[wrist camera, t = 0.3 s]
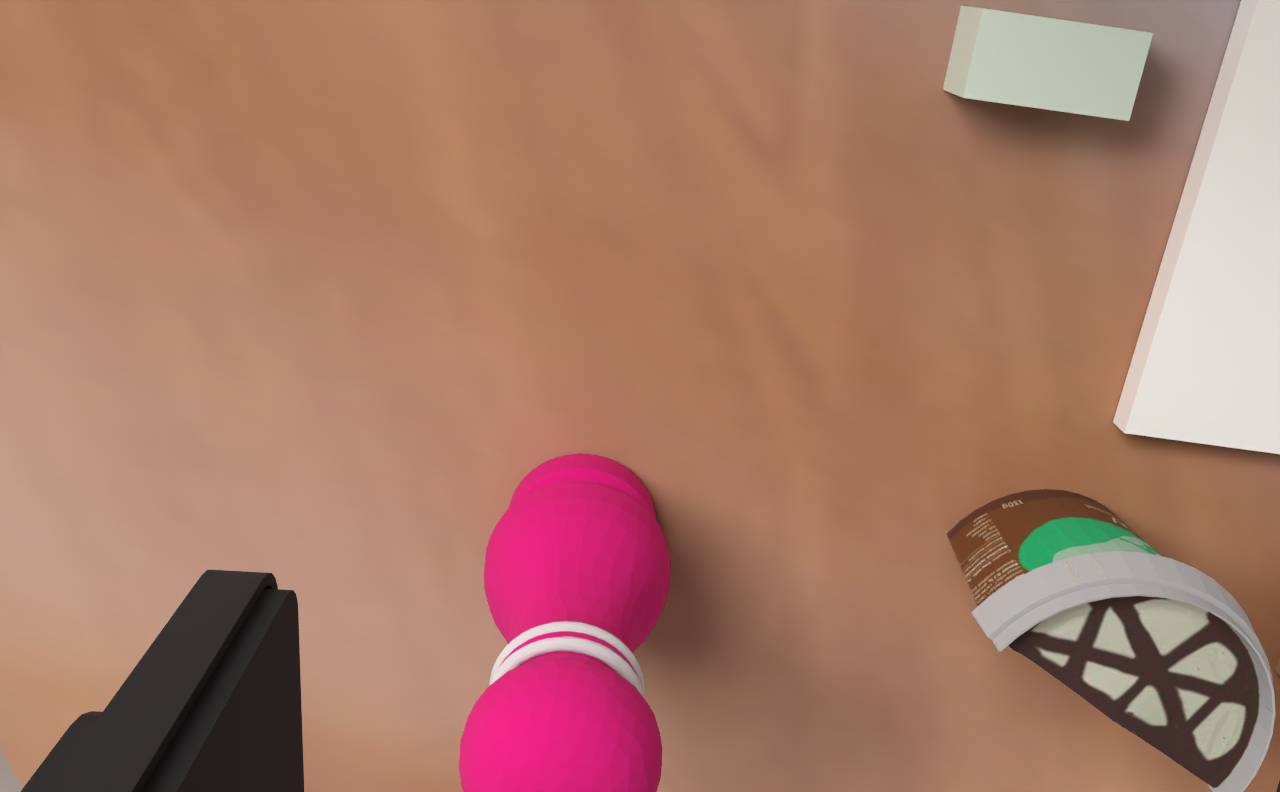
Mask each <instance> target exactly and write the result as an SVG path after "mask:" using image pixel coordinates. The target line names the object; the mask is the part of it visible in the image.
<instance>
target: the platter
mask: <svg viewBox="0 0 1280 792" xmlns="http://www.w3.org/2000/svg"><path fill="white" fill-rule="evenodd" d="M1113 423H1114V424H1115V425H1116V426H1117V427H1118V428H1119V429H1121V430H1122V431H1123V432H1124V433H1127V434H1134V435H1142V436H1149V437H1156V438H1164V439H1171V440H1179V441H1186V442H1193V443H1201V444H1208V445H1215V446H1223V447H1230V448H1238V449H1245V450H1252V451H1260V452H1267V453H1274V454H1280V0H1241V3H1240V6H1239V9H1238V12H1237V16H1236V19H1235V22H1234V26H1233V29H1232V32H1231V35H1230V39H1229V42H1228V45H1227V49H1226V52H1225V55H1224V58H1223V62H1222V65H1221V68H1220V72H1219V75H1218V78H1217V82H1216V85H1215V88H1214V91H1213V95H1212V98H1211V101H1210V105H1209V108H1208V111H1207V114H1206V118H1205V121H1204V124H1203V128H1202V131H1201V134H1200V137H1199V141H1198V144H1197V147H1196V151H1195V154H1194V157H1193V160H1192V164H1191V167H1190V170H1189V174H1188V177H1187V180H1186V183H1185V187H1184V190H1183V193H1182V197H1181V200H1180V203H1179V206H1178V210H1177V213H1176V216H1175V220H1174V223H1173V226H1172V230H1171V233H1170V236H1169V239H1168V243H1167V246H1166V249H1165V253H1164V256H1163V259H1162V262H1161V266H1160V269H1159V272H1158V276H1157V279H1156V282H1155V285H1154V289H1153V292H1152V295H1151V299H1150V302H1149V305H1148V308H1147V312H1146V315H1145V318H1144V322H1143V325H1142V328H1141V331H1140V335H1139V338H1138V341H1137V345H1136V348H1135V351H1134V355H1133V358H1132V361H1131V364H1130V368H1129V371H1128V374H1127V378H1126V381H1125V384H1124V387H1123V391H1122V394H1121V397H1120V401H1119V404H1118V407H1117V410H1116V414H1115V417H1114V420H1113Z"/></svg>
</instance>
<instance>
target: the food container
mask: <svg viewBox="0 0 1280 792" xmlns="http://www.w3.org/2000/svg"><path fill="white" fill-rule="evenodd" d="M947 536H948V539H949V541H950V543H951V545H952V548H953V550H954V552H955V555H956V557H957V559H958V562H959V564H960V566H961V568H962V571H963V573H964V575H965V578H966V580H967V582H968V585H969V587H970V589H971V591H972V594H973V596H974V598H975V601H976V603H977V605H978V607H977V608H976V609H975V610H973V611H972V612H971V613H972V614H973V616H974V617H975V619H976V620H977V622H978V623H979V625H980V626H981V628H982V629H983V631H984V632H985V634H986V635H987V637H988V638H990V639H991V640H993V642H994V644H995V646H996V647H997V649H998V651H999V652H1001V651H1002V650H1004V649H1005V648H1006V647H1007V646H1008V645H1009V646H1010V647H1011V648H1012V649H1013V650H1015V651H1017V652H1019V653H1021V654H1023V655H1024V656H1026V657H1027V658H1029V659H1030V660H1032V661H1033V662H1035V663H1036V664H1037V665H1039V666H1040V667H1042V668H1043V669H1044V670H1046V671H1047V672H1049V673H1050V674H1051V675H1053V676H1054V677H1055V678H1057V679H1058V680H1060V681H1061V682H1062V683H1064V684H1065V685H1066V686H1068V687H1069V688H1071V689H1072V690H1073V691H1075V692H1076V693H1077V694H1079V695H1080V696H1081V697H1083V698H1084V699H1085V700H1087V701H1088V702H1089V703H1091V704H1092V705H1093V706H1095V707H1096V708H1097V709H1099V710H1100V711H1101V712H1102V713H1104V714H1105V715H1106V716H1108V717H1109V718H1110V719H1112V720H1113V721H1114V722H1116V723H1118V724H1119V725H1121V726H1122V727H1124V728H1126V729H1127V730H1129V731H1130V732H1132V733H1134V734H1135V735H1137V736H1138V737H1140V738H1142V739H1143V740H1145V741H1146V742H1148V743H1149V744H1151V745H1152V746H1154V747H1155V748H1157V749H1158V750H1160V751H1161V752H1163V753H1164V754H1165V755H1167V756H1168V757H1170V758H1171V759H1173V760H1174V761H1176V762H1177V763H1178V764H1180V765H1181V766H1183V767H1184V768H1186V769H1187V770H1188V771H1190V772H1191V773H1193V774H1194V775H1196V776H1197V777H1199V778H1200V779H1201V780H1203V781H1204V782H1205V783H1206V784H1207V785H1208V787H1209V788H1210V789H1211V790H1212V792H1244V790H1245V789H1246V788H1247V786H1248V785H1249V783H1250V782H1251V781H1252V779H1253V778H1254V777H1255V775H1256V773H1257V771H1258V769H1259V768H1260V766H1261V764H1262V762H1263V760H1264V758H1265V756H1266V753H1267V750H1268V747H1269V744H1270V741H1271V738H1272V735H1273V728H1274V720H1275V695H1274V689H1273V678H1272V674H1271V670H1270V666H1269V662H1268V659H1267V656H1266V654H1265V652H1264V650H1263V648H1262V646H1261V644H1260V642H1259V640H1258V637H1257V635H1256V633H1255V631H1254V629H1253V627H1252V625H1251V623H1250V621H1249V619H1248V617H1247V614H1246V613H1245V612H1244V610H1243V609H1242V608H1241V606H1240V605H1239V604H1238V602H1237V601H1236V600H1235V598H1234V597H1233V596H1232V595H1231V594H1230V593H1229V592H1228V591H1226V590H1225V589H1224V588H1223V587H1222V586H1221V585H1220V584H1219V583H1218V582H1216V581H1215V580H1214V579H1212V578H1210V577H1209V576H1207V575H1206V574H1204V573H1202V572H1201V571H1199V570H1197V569H1196V568H1194V567H1191V566H1189V565H1186V564H1184V563H1181V562H1179V561H1176V560H1174V559H1171V558H1167V557H1162V556H1160V555H1159V554H1158V553H1157V552H1156V551H1155V550H1154V549H1153V548H1151V547H1150V546H1149V545H1148V544H1147V543H1146V542H1145V541H1144V540H1142V539H1141V538H1140V537H1139V536H1138V535H1137V534H1136V533H1135V532H1134V531H1132V530H1131V529H1130V528H1129V527H1128V526H1127V525H1126V524H1125V523H1123V522H1122V521H1121V520H1120V519H1119V518H1118V517H1117V516H1116V515H1115V514H1113V513H1112V512H1111V511H1110V510H1109V509H1108V508H1106V507H1105V506H1103V505H1101V504H1100V503H1098V502H1097V501H1095V500H1093V499H1090V498H1088V497H1085V496H1083V495H1080V494H1077V493H1072V492H1068V491H1063V490H1048V489H1043V490H1031V491H1024V492H1020V493H1015V494H1011V495H1007V496H1005V497H1002V498H999V499H997V500H994V501H992V502H990V503H988V504H986V505H984V506H982V507H980V508H978V509H977V510H975V511H974V512H972V513H971V514H969V515H968V516H967V517H965V518H964V519H962V520H961V521H960V522H959V523H958V524H957V525H956V526H955V527H954V528H953V529H951V530H950V531H949V532H948V533H947Z"/></svg>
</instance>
